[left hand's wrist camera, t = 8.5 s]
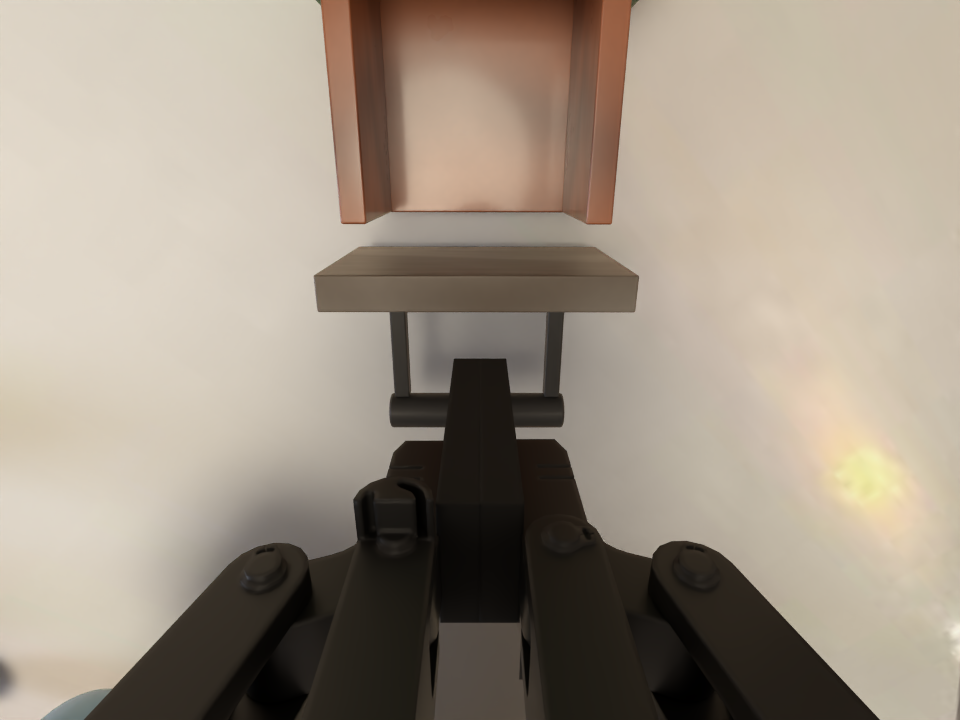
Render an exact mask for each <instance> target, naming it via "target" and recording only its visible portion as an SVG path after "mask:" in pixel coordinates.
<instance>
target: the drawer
mask: <svg viewBox="0 0 960 720" xmlns="http://www.w3.org/2000/svg"><path fill="white" fill-rule="evenodd" d="M631 3H632V0H321V9H322V20H323V31H324V42H325V53H326V64H327V75H328V86H329V96H330V107H331V118H332V129H333V140H334V151H335V162H336V173H337V184H338V195H339V206H340V217H341V223H342V224H366V223H368V222H370V221H372V220H374V219H377V218H379V217H381V216H383V215H385V214H387V213H389V212H564V213H566V214H568V215H570V216H572V217H574V218H576V219H578V220H580V221H582V222H584V223H586V224H611V223H612V215H613V204H614V193H615V182H616V171H617V160H618V148H619V137H620V126H621V115H622V104H623V93H624V81H625V70H626V59H627V48H628V37H629V25H630V14H631ZM638 281H639V276H638V275H636V274H635V273H633V272H632V271H630V270H629V269H627V268H626V267H624V266H623V265H621V264H620V263H618V262H617V261H615V260H614V259H612V258H611V257H609V256H608V255H606V254H605V253H603V252H602V251H600V250H599V249H597V248H596V247H358V248H357V249H355V250H353V251H352V252H350V253H349V254H347V255H346V256H344V257H342V258H341V259H339V260H338V261H336V262H335V263H333V264H331V265H330V266H328V267H327V268H325V269H324V270H322V271H320V272H319V273H317V274H316V275H314V283H315V292H316V301H317V310H318V312H390V325H391V341H392V357H393V373H394V389H395V393H393V394H392V396H391V399H390V409H389V415H390V423H391V426H392V427H445V425H446V418H447V410H448V402H449V394H450V393H411V380H410V360H409V340H408V320H407V312H547V316H546V337H545V357H544V378H543V393H510V394H511V402H512V410H513V418H514V425H515V427H562V425H563V422H564V400H563V396H562V394H560V393H559V385H560V369H561V352H562V336H563V320H564V312H635V308H636V299H637V290H638Z"/></svg>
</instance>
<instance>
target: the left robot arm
mask: <svg viewBox="0 0 960 720" xmlns="http://www.w3.org/2000/svg"><path fill="white" fill-rule="evenodd" d="M353 502H354V511H355V520H356V529H357V538H358V540H357V544H355V545H354V546H352V547H350V548H348V549H346V550H344V551H342V552H339V553H336V554H333V555H329V556H325V557H321V558H317V559H312V560H308V557H307V555H306V554H305V553H304V552H303V551H302V549H301V548H299V547H296V546H294V545H291V544H288V543H272V544H268V545H263V546H259V547H256V548H254V549H252V550H250V551H248V552H246V553H244V554H242V555H240V556H239V557H238V558H237V559H235V560H234V561H233V562H232V563H230V564H229V565H228V566H227V567H226V568H225V569H224V570H223V572H222V573H221V574H220V575H219V576H218V577H217V578H216V579H215V580H214V581H213V582H212V583H211V584H210V585H209V587H208V588H207V589H206V590H205V591H204V592H203V593H202V594H201V595H200V596H199V597H198V598H197V599H196V600H195V601H194V603H193V604H192V605H191V606H190V607H189V608H188V609H187V610H186V611H185V612H184V613H183V614H182V615H181V616H180V617H179V619H178V620H177V621H176V622H175V623H174V624H173V625H172V626H171V627H170V628H169V629H168V630H167V631H166V632H165V633H164V635H163V636H162V637H161V638H160V639H159V640H158V641H157V642H156V643H155V644H154V645H153V646H152V647H151V648H150V649H149V651H148V652H147V653H146V654H145V655H144V656H143V657H142V658H141V659H140V660H139V661H138V662H137V663H136V664H135V666H134V667H133V668H132V669H131V670H130V671H129V672H128V673H127V674H126V675H125V676H124V677H123V678H122V679H121V680H120V682H119V683H118V684H117V685H116V686H115V687H114V688H113V689H100V690H94V691H90V692H87V693H84V694H81V695H78V696H76V697H74V698H72V699H70V700H68V701H66V702H64V703H63V704H61V705H60V706H58V707H57V708H55V709H54V710H52V711H51V712H50V713H48V714H47V715H46V716H45V717H43V718H42V719H41V720H880V719H879V718H878V717H877V716H876V715H875V714H874V713H873V712H872V711H871V710H870V709H869V708H868V707H867V706H866V705H865V704H864V702H863V701H862V700H861V699H860V698H859V697H858V696H857V695H856V694H855V693H854V692H853V691H852V690H851V689H850V688H849V687H848V686H847V684H846V683H845V682H844V681H843V680H842V679H841V678H840V677H839V676H838V675H837V674H836V673H835V672H834V671H833V670H832V669H831V667H830V666H829V665H828V664H827V663H826V662H825V661H824V660H823V659H822V658H821V657H820V656H819V655H818V654H817V653H816V652H815V651H814V649H813V648H812V647H811V646H810V645H809V644H808V643H807V642H806V641H805V640H804V639H803V638H802V637H801V636H800V635H799V634H798V632H797V631H796V630H795V629H794V628H793V627H792V626H791V625H790V624H789V623H788V622H787V621H786V620H785V619H784V618H783V617H782V616H781V614H780V613H779V612H778V611H777V610H776V609H775V608H774V607H773V606H772V605H771V604H770V603H769V602H768V601H767V600H766V599H765V597H764V596H763V595H762V594H761V593H760V592H759V591H758V590H757V589H756V588H755V587H754V586H753V585H752V584H751V583H750V582H749V581H748V579H747V578H746V577H745V576H744V575H743V574H742V573H741V572H740V571H739V570H738V569H737V568H736V567H735V566H734V565H733V564H732V563H731V562H730V561H729V560H728V559H726V558H725V557H724V556H723V555H721V554H720V553H719V552H717V551H715V550H713V549H711V548H709V547H707V546H705V545H702V544H697V543H693V542H689V541H671V542H669V543H666V544H664V545H661V546H659V548H658V549H657V550H656V551H655V552H654V554H653V557H652V558H648V557H643V556H639V555H635V554H631V553H627V552H624V551H621V550H618V549H616V548H614V547H612V546H610V545H608V544H606V543H605V542H603V540H602V538H601V536H600V534H599V533H598V531H597V529H596V528H594V527H593V526H592V525H590V524H589V523H588V522H587V519H586V515H585V512H584V509H583V505H582V502H581V498H580V495H579V492H578V488H577V485H576V481H575V479H574V475H573V471H572V468H571V464H570V461H569V457H568V454H567V451H566V450H565V449H564V448H563V447H562V446H561V445H560V444H559V443H558V442H557V441H556V440H555V439H516V433H515V425H514V418H513V410H512V402H511V394H510V386H509V378H508V371H507V363H506V359H454V363H453V371H452V378H451V386H450V394H449V402H448V410H447V418H446V425H445V433H444V441H405V442H404V443H403V444H402V445H401V446H400V447H399V448H398V449H397V450H396V451H395V452H394V453H393V456H392V459H391V463H390V466H389V470H388V473H387V477H386V478H383V479H380V480H377V481H375V482H372V483H370V484H368V485H367V486H365V487H364V488H362V489H361V490H360V491H359V492H358V494H357V495H356V497H355V498H354V499H353Z"/></svg>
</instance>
